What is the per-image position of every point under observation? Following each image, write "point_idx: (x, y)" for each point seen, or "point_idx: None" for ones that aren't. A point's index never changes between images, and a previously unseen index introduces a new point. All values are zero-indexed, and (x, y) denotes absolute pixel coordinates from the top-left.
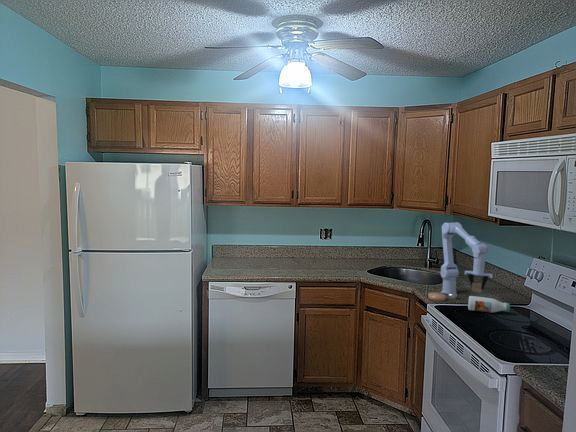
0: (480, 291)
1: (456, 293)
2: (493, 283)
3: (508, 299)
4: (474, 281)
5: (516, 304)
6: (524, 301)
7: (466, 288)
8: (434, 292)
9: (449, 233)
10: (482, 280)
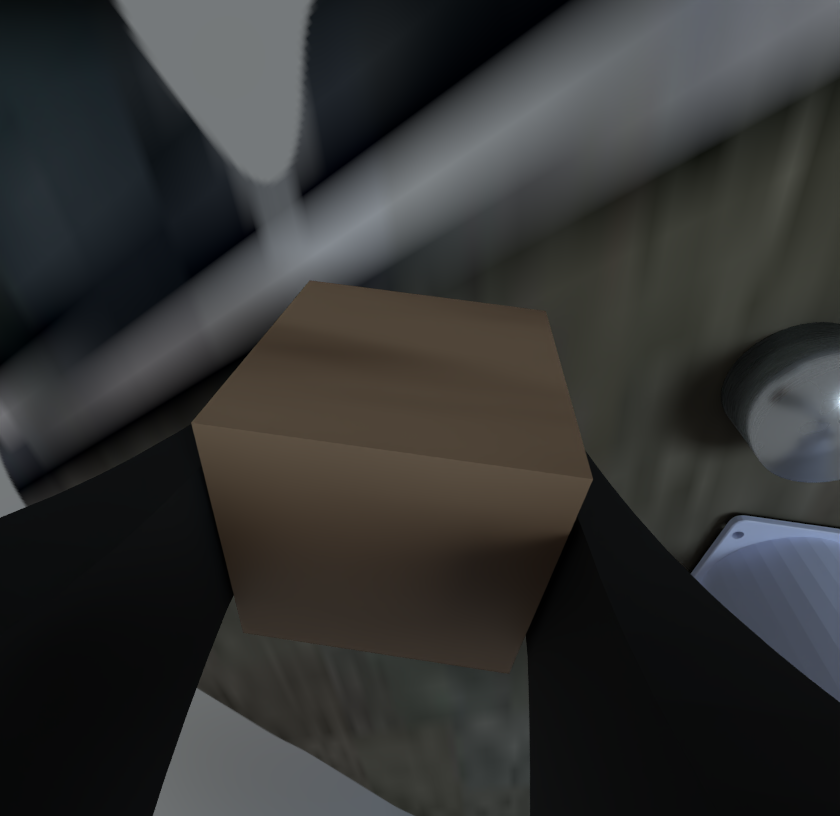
0: (319, 297)
1: (758, 455)
2: (380, 780)
3: None
4: (498, 640)
5: (62, 456)
6: None
7: None
8: None
9: None
10: (58, 587)
